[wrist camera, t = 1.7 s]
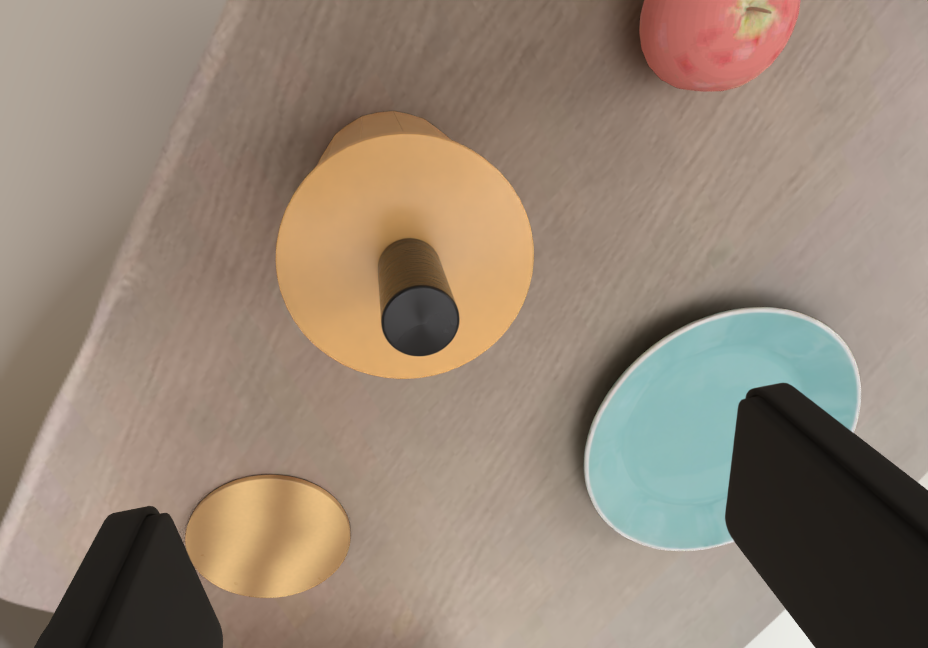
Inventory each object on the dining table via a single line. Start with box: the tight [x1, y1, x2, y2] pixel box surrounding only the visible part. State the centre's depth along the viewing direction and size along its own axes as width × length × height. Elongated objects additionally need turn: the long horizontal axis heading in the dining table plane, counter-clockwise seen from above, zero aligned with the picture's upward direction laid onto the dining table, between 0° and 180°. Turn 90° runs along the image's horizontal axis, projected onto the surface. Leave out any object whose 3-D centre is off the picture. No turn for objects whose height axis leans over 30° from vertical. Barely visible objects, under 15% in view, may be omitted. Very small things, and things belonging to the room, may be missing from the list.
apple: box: [639, 0, 800, 91], centre depth 29 cm, size 7×7×8 cm
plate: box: [584, 307, 861, 551], centre depth 45 cm, size 22×22×3 cm
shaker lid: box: [276, 132, 534, 379], centre depth 20 cm, size 10×10×6 cm
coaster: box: [185, 475, 351, 598], centre depth 44 cm, size 12×12×1 cm
